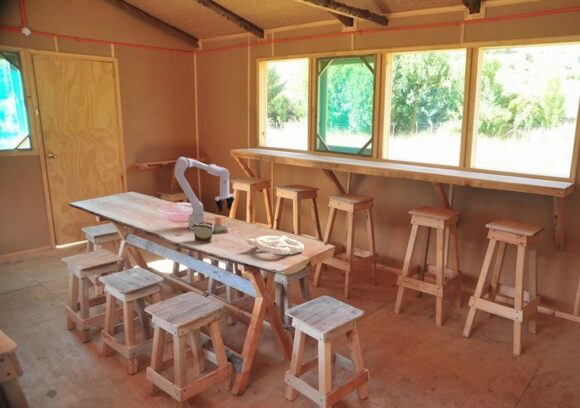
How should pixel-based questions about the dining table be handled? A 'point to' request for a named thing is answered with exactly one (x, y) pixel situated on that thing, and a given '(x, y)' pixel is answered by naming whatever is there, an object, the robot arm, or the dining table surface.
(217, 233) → the bottom slab
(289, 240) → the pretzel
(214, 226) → the top slab
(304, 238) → the dining table surface
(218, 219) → the peach foam cube
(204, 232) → the food container
